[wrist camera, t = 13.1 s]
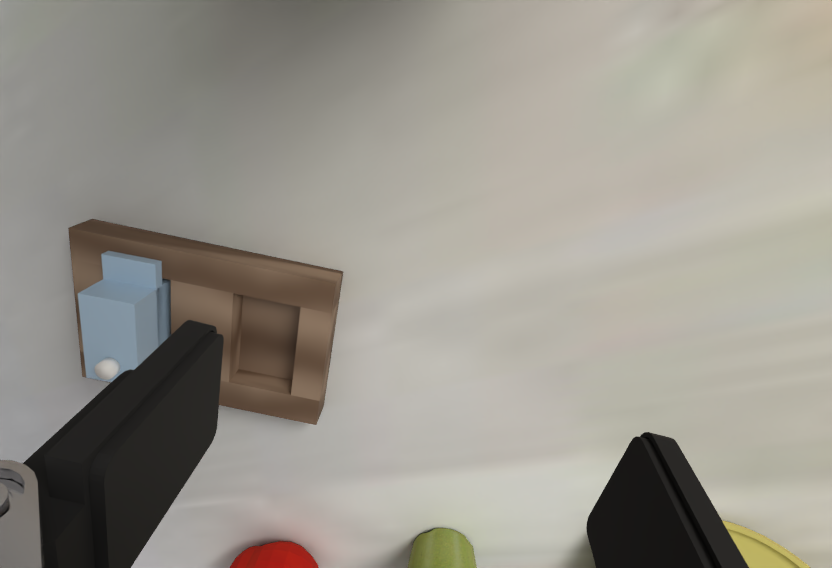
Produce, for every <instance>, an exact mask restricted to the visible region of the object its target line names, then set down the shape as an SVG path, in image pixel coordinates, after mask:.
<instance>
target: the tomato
mask: <svg viewBox="0 0 832 568" xmlns="http://www.w3.org/2000/svg"><path fill="white" fill-rule="evenodd" d="M230 568H318V565H317V563H316V562H315V560H314V559H313V557H312V556H311V555H310V554H309V553H308V552H307V551H306V550H305V549H304V548H303V547H302V546H300V545H298V544H295V543H293V542H283V541H278V542H274V543H269V544H265V545H263V546H253V547H250V548H248V549H246V550H244V551H243V552H242V553H241V554H239V555H238V556H237V557H236V558H235V560H234V562H233V563H232V565H231V566H230Z"/></svg>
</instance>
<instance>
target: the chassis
mask: <svg viewBox="0 0 832 568" xmlns="http://www.w3.org/2000/svg"><path fill="white" fill-rule="evenodd" d="M69 239H70V249H71V260H72V270H73V281H74V292H75V302H76V313H77V323H78V334H79V345H80V355H81V366H82V376H83V377H86V369H85V360H84V350H83V340H82V331H81V321H80V312H79V302H78V293H79V292H81V291H83V290H85V289H86V288H88V287H90V286H92V285H94V284H95V283H97V282H99V281H101V280H103V269H102V257H101V254H103V253H105V252H107V251H113V252H118V253H123V254H128V255H133V256H139V257H144V258H149V259H154V260H159V261H162V278H163V279H168V280H171V335H172V334H173V333H174V332H175V331H176V330H177V329H178V328H179V327H180V326H181V325H182V324H183V323H184V322H186V321H187V320H193V321H197V322H201V323H205V324H209V325H213V326H215V327H216V329H217V333H218V334H222V335H223V337H224V343H223V356H222V369H221V381H220V394H219V405H222V406H227V407H232V408H237V409H242V410H246V411H251V412H256V413H261V414H266V415H271V416H275V417H280V418H285V419H290V420H295V421H300V422H304V423H309V424H314V425H316V424H317V421H318V419H319V416H320V414H321V411H322V409H323V406H324V400H325V393H326V386H327V379H328V372H329V365H330V358H331V352H332V345H333V338H334V331H335V324H336V317H337V311H338V304H339V297H340V290H341V283H342V276H343V272H342V271H338V270H333V269H328V268H323V267H319V266H314V265H309V264H304V263H300V262H295V261H290V260H285V259H280V258H276V257H271V256H266V255H261V254H257V253H252V252H247V251H242V250H237V249H233V248H228V247H223V246H218V245H214V244H209V243H204V242H199V241H194V240H190V239H185V238H180V237H175V236H171V235H166V234H161V233H156V232H152V231H147V230H142V229H137V228H132V227H128V226H123V225H118V224H113V223H109V222H104V221H99V220H94V219H91V220H88V221H86V222H83V223H80V224H78V225H75V226H72V227H70V228H69ZM96 380H97V379H96ZM101 381H102V380H101ZM106 382H107V381H106Z"/></svg>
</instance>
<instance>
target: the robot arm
mask: <svg viewBox="0 0 832 568" xmlns="http://www.w3.org/2000/svg"><path fill="white" fill-rule="evenodd" d="M223 343H224V337H223V335H222V334H218V333H217V329H216V327H215V326H213V325H209V324H205V323H201V322H197V321H193V320H187V321H186V322H184V323H183V324H182V325H181V326H180V327H179V328H178V329H177V330H176V331H175V332H174V333H173V334H172V335H171V336H170V337H168V338H167V339H166V340H165V341H164V342H163V343H162V344H161V345H160V346H159V347H158V348H157V349H156V350H155V351H154V352H153V353H152V354H150V355H149V356H148V357H147V358H146V359H145V360H144V361H143V362H142V363H141V364H140V365H139V366H138V367H137V368H136V369H135V370H131V369H130V370H127V371H124V372H123V373H122V374H120V375H119V376H118V377H117V378H116V379H114V380H113V381H112V382H111V383H110V384H109V385H108V386H107V387H106V388H105V389H104V390H102V391H101V392H100V393H99V394H98V395H97V396H96V397H95V398H94V399H93V400H92V401H91V402H89V403H88V404H87V405H86V406H85V407H84V408H83V409H82V410H81V411H80V412H79V413H77V414H76V415H75V416H74V417H73V418H72V419H71V420H70V421H69V422H68V423H67V424H65V425H64V426H63V427H62V428H61V429H60V430H59V431H58V432H57V433H56V434H55V435H53V436H52V437H51V438H50V439H49V440H48V441H47V442H46V443H45V444H44V445H43V446H41V447H40V448H39V449H38V450H37V451H36V452H35V453H34V454H33V455H32V456H31V457H29V458H28V459H27V460H26V461H25V462H24V463H23V464H22V463H18V462H15V461H8V460H0V568H131V566H132V565H133V563H134V562H135V560H136V558H137V557H138V555H139V554H140V552H141V551H142V549H143V548H144V546H145V545H146V543H147V542H148V540H149V538H150V537H151V535H152V534H153V532H154V531H155V529H156V528H157V526H158V525H159V523H160V522H161V520H162V518H163V517H164V515H165V514H166V512H167V511H168V509H169V508H170V506H171V505H172V503H173V502H174V500H175V498H176V497H177V495H178V494H179V492H180V491H181V489H182V488H183V486H184V485H185V483H186V482H187V480H188V478H189V477H190V475H191V474H192V472H193V471H194V469H195V468H196V466H197V465H198V463H199V462H200V460H201V459H202V457H203V455H204V454H205V452H206V451H207V449H208V448H209V446H210V445H211V443H212V441H213V439H214V436H215V433H216V430H217V420H218V407H219V394H220V381H221V369H222V356H223ZM587 535H588V539H589V542H590V546H591V549H592V553H593V557H594V560H595V564H596V568H749V567H748V565H747V563H746V561H745V560H744V558H743V556H742V554H741V553H740V551H739V549H738V548H737V546H736V544H735V542H734V541H733V539H732V537H731V535H730V534H729V532H728V530H727V529H726V527H725V525H724V523H723V522H722V520H721V518H720V516H719V515H718V513H717V511H716V510H715V508H714V506H713V504H712V503H711V501H710V499H709V497H708V496H707V494H706V492H705V491H704V489H703V487H702V485H701V484H700V482H699V480H698V478H697V477H696V475H695V473H694V472H693V470H692V468H691V466H690V465H689V463H688V461H687V459H686V458H685V456H684V454H683V453H682V451H681V449H680V447H679V446H678V444H677V443H676V441H675V440H674V439H672V438H669V437H665V436H661V435H657V434H653V433H649V432H646V433H643V434H642V435H641V436H640V437H635V438H633V440H632V441H631V443H630V444H629V446H628V448H627V450H626V451H625V453H624V455H623V457H622V458H621V460H620V462H619V464H618V466H617V467H616V469H615V471H614V473H613V474H612V476H611V478H610V480H609V481H608V483H607V485H606V487H605V489H604V490H603V492H602V494H601V496H600V497H599V499H598V501H597V503H596V504H595V506H594V508H593V510H592V512H591V513H590V515H589V517H588V521H587Z"/></svg>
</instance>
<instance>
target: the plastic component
mask: <svg viewBox="0 0 832 568" xmlns="http://www.w3.org/2000/svg"><path fill="white" fill-rule="evenodd" d="M722 522H723V523H724V525H725V527H726V529H727V530H728V532H729V534H730V535H731V537H732V539H733V541H734V542H735V544H736V546H737V548H738V549H739V551H740V553H741V554H742V556H743V558H744V560H745V561H746V563H747V565H748V567H749V568H810V567H809V566H808V565H807V564H805V563H804V562H803V561H802V560H800V559H799V558H798V557H796V556H795V555H794V554H792V553H791V552H789V551H788V550H786V549H785V548H784V547H782V546H780V545H779V544H777V543H775V542H774V541H772V540H770V539H768V538H767V537H765V536H763V535H761V534H759V533H756V532H754V531H752V530H750V529H747V528H745V527H742V526H739V525H736V524H733V523H730V522H726V521H722Z"/></svg>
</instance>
